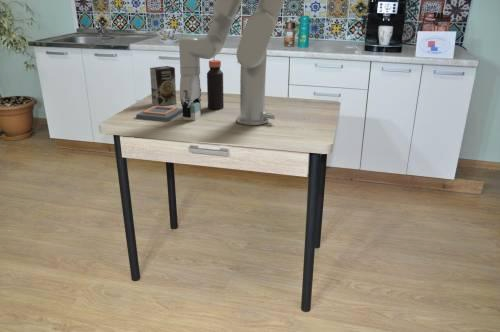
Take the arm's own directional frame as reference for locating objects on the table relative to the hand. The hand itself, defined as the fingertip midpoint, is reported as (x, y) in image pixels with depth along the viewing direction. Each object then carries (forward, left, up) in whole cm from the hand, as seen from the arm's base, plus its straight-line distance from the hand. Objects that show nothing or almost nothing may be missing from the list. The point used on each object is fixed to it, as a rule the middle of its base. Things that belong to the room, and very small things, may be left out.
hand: (191, 113), depth 187 cm
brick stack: (0, 0, -2) cm, 2 cm away
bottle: (-3, -18, -2) cm, 18 cm away
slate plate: (+14, 0, -2) cm, 14 cm away
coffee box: (+21, -17, -2) cm, 27 cm away
